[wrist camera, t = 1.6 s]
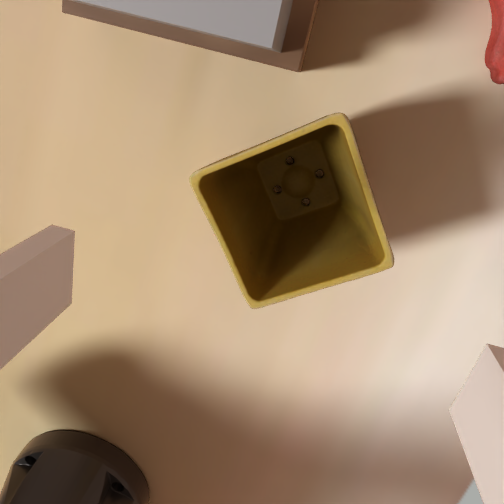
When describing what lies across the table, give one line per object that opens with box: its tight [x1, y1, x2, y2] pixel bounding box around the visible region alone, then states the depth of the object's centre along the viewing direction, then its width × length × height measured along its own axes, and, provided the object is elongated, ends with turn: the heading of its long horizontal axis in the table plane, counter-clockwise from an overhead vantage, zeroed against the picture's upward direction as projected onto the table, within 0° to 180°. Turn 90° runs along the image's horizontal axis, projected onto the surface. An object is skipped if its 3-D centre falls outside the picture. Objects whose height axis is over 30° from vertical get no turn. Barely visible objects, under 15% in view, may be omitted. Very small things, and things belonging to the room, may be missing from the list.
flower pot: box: [189, 113, 394, 309], centre depth 26 cm, size 9×9×9 cm
